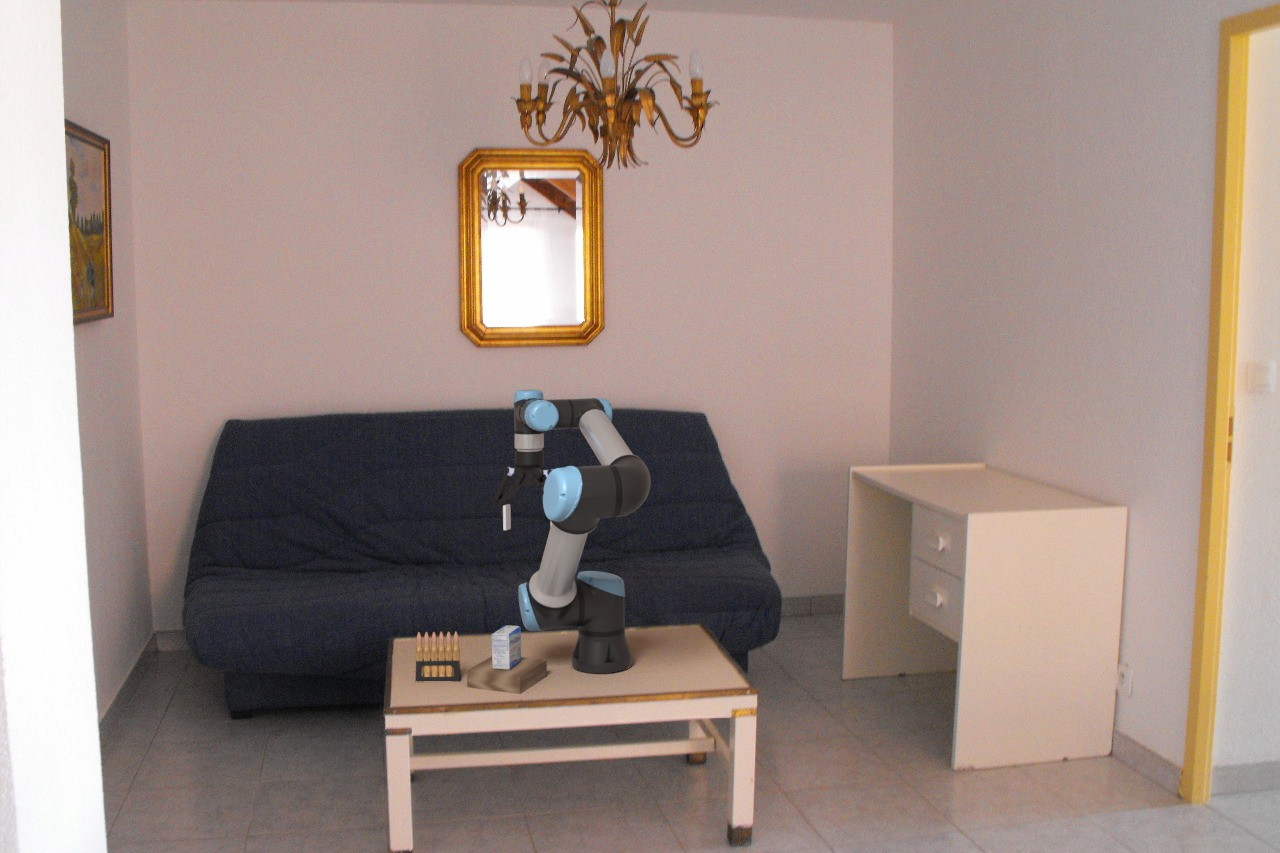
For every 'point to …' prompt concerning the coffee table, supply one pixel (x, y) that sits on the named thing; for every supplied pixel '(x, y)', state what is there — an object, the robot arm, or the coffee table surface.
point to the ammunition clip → (438, 659)
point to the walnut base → (507, 675)
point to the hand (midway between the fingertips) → (530, 531)
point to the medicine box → (506, 647)
